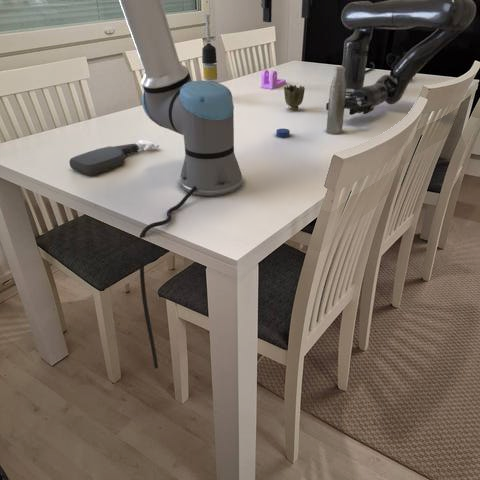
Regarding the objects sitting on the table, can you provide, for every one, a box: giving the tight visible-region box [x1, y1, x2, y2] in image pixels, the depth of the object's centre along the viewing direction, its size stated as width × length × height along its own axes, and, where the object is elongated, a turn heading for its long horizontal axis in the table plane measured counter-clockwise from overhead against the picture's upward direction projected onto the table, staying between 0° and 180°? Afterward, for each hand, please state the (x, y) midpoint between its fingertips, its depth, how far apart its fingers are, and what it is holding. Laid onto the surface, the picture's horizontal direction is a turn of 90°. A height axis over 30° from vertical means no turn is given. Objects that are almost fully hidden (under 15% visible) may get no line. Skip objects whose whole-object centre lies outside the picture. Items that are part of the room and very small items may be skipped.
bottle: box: [326, 66, 347, 135], centre depth 137 cm, size 5×5×19 cm
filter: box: [201, 14, 219, 83], centre depth 171 cm, size 6×6×30 cm
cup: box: [283, 84, 306, 112], centre depth 161 cm, size 8×7×8 cm
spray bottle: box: [68, 139, 160, 177], centre depth 124 cm, size 3×11×24 cm
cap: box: [275, 128, 291, 139], centre depth 139 cm, size 4×4×2 cm
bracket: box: [260, 69, 287, 90], centre depth 194 cm, size 13×6×7 cm, turn 143°
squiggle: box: [385, 51, 414, 81], centre depth 198 cm, size 11×10×15 cm
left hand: (286, 20), depth 122 cm, fingers open, 13 cm apart
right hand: (338, 109), depth 140 cm, fingers open, 8 cm apart
